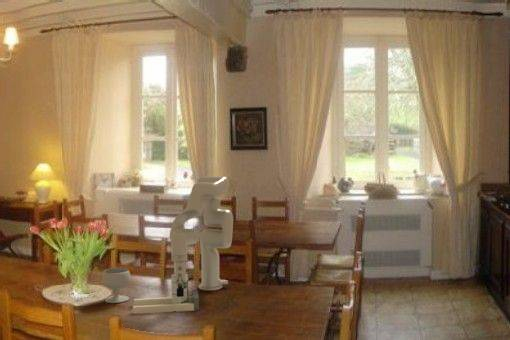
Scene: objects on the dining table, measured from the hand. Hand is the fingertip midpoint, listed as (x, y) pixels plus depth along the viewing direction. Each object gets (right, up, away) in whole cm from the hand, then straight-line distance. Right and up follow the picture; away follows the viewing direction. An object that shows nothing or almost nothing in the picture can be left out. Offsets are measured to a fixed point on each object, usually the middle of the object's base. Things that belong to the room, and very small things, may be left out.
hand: (180, 293), depth 267 cm
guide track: (-7, -7, -1) cm, 9 cm away
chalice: (-33, -6, +11) cm, 35 cm away
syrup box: (0, -5, 0) cm, 5 cm away
